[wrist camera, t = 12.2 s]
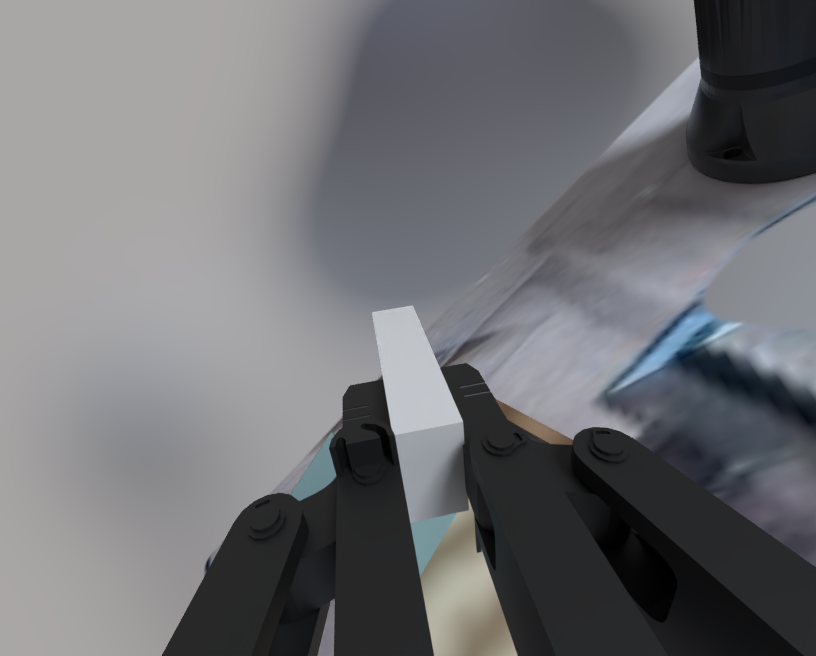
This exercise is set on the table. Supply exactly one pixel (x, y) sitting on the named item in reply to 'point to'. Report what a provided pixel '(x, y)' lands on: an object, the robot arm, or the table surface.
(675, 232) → the table surface
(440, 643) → the trap lane
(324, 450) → the teal block
